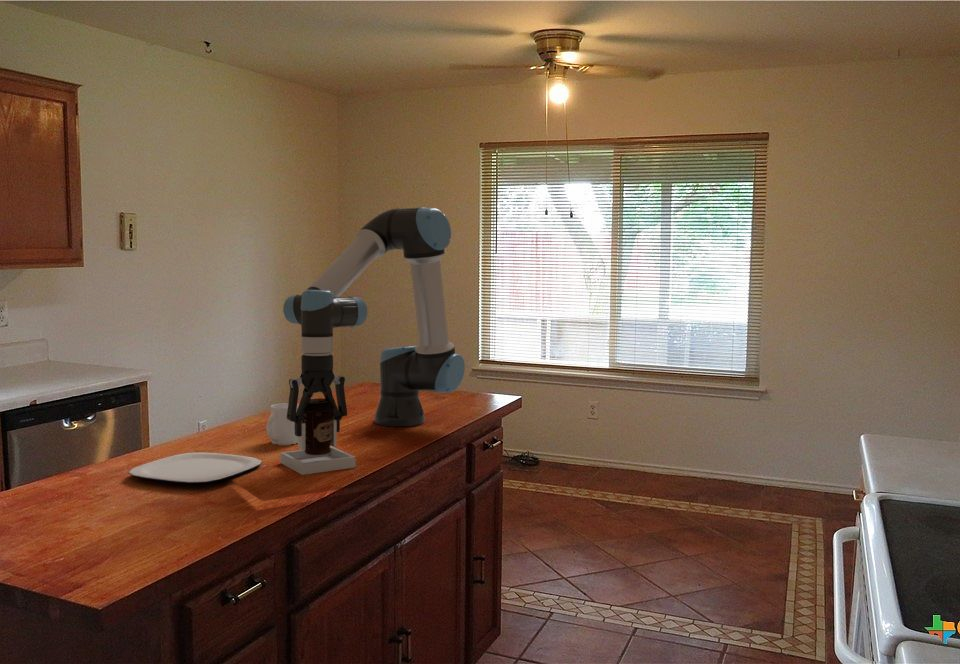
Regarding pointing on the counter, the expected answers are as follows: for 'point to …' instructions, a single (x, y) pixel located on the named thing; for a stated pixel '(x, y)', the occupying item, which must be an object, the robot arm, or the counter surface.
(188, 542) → the counter surface
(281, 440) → the mug
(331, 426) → the coffee cup
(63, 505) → the counter surface
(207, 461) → the plate
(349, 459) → the gray square tray
